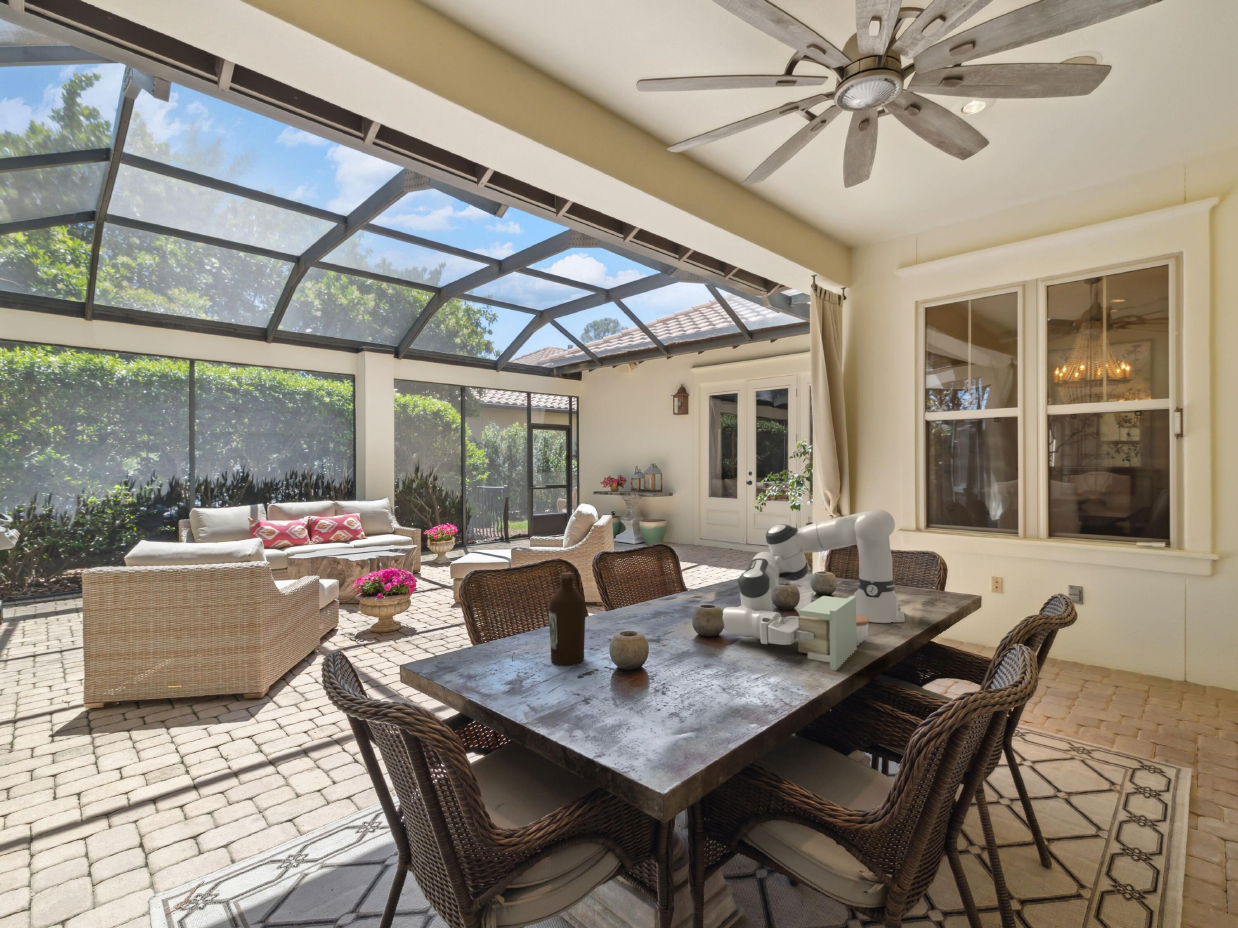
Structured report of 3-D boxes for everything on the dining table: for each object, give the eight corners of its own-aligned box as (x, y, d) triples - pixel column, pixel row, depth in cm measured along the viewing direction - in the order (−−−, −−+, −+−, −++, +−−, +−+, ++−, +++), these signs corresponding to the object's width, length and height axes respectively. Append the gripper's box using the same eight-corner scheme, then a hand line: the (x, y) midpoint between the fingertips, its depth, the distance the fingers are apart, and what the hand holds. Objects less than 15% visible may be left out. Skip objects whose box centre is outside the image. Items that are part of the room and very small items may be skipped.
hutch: (823, 644, 183) (823, 592, 184) (856, 649, 178) (856, 596, 178) (799, 663, 166) (799, 606, 166) (835, 670, 160) (835, 611, 160)
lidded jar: (874, 647, 180) (874, 616, 180) (839, 647, 180) (838, 616, 180) (861, 637, 191) (860, 608, 191) (827, 637, 191) (827, 608, 191)
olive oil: (581, 653, 177) (580, 569, 177) (590, 664, 167) (589, 575, 167) (545, 656, 174) (545, 571, 174) (552, 668, 163) (552, 577, 164)
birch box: (803, 647, 178) (803, 614, 178) (830, 652, 173) (830, 618, 173) (798, 651, 174) (798, 617, 174) (826, 656, 170) (826, 621, 170)
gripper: (783, 628, 190) (828, 635, 182) (759, 644, 173) (806, 653, 165) (783, 609, 190) (827, 615, 182) (759, 623, 173) (806, 630, 165)
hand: (817, 633), depth 173 cm, fingers closed on birch box, 4 cm apart
